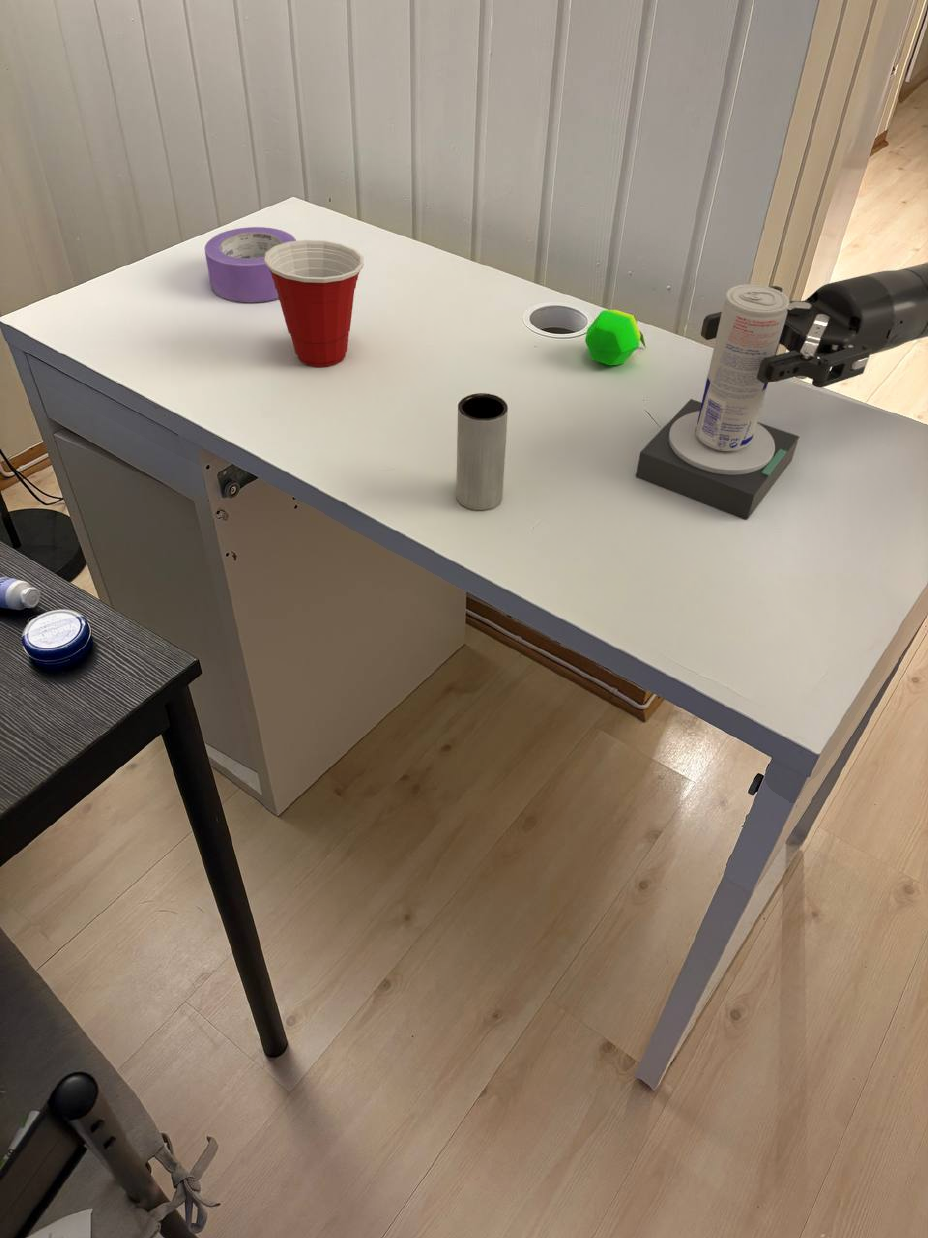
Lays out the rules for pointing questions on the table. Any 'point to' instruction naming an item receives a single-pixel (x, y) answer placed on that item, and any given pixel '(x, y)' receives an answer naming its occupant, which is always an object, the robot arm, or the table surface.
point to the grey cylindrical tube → (481, 450)
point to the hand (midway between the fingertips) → (731, 349)
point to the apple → (613, 337)
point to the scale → (716, 464)
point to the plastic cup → (316, 296)
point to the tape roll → (243, 263)
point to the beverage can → (740, 365)
